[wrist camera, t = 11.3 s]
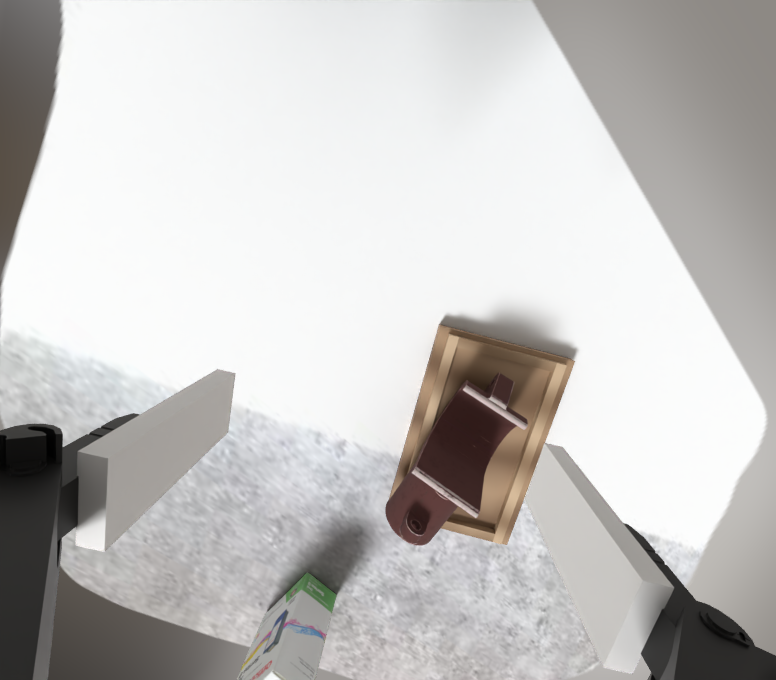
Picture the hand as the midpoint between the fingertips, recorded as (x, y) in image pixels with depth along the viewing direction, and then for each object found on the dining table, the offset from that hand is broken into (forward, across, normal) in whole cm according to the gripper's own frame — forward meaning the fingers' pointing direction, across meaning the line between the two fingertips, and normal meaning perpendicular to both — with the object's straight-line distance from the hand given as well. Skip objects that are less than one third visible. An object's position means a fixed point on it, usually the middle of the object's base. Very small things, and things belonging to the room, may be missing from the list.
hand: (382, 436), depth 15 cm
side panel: (+24, +10, -10) cm, 28 cm away
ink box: (+23, -4, -36) cm, 43 cm away
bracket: (+22, +7, -10) cm, 25 cm away
